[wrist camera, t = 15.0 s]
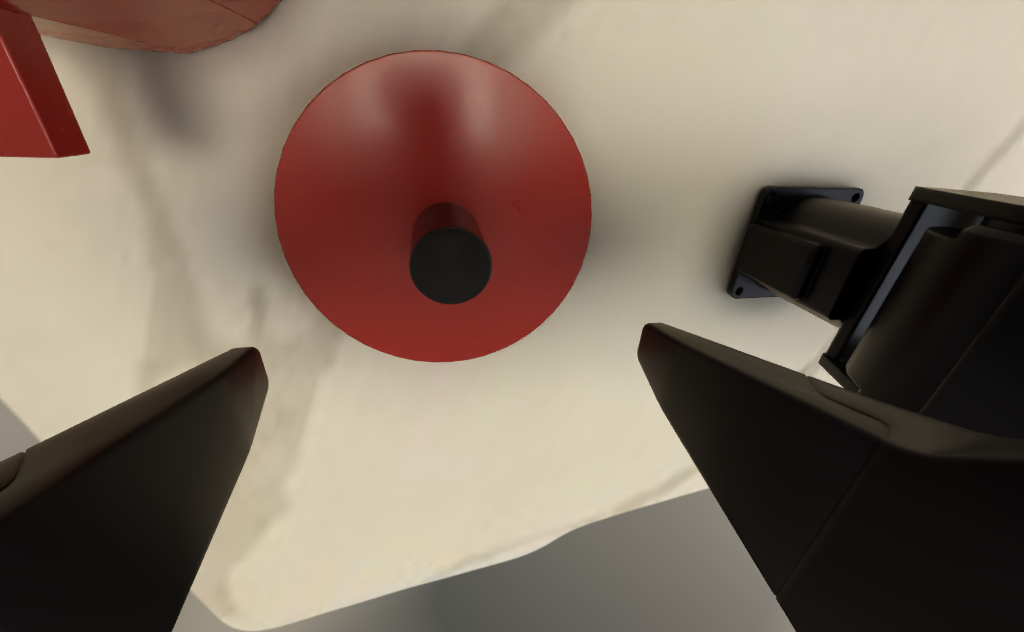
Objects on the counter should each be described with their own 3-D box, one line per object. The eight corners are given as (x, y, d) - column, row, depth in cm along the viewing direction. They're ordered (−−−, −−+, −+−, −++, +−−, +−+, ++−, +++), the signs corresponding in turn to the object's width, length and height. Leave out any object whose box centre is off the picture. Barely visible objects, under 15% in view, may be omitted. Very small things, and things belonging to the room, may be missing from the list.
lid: (603, 66, 16) (672, 50, 12) (567, 343, 23) (602, 400, 18) (241, 38, 14) (150, 3, 9) (316, 360, 20) (284, 433, 16)
